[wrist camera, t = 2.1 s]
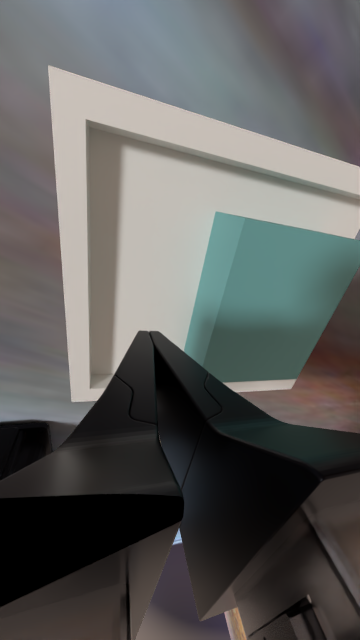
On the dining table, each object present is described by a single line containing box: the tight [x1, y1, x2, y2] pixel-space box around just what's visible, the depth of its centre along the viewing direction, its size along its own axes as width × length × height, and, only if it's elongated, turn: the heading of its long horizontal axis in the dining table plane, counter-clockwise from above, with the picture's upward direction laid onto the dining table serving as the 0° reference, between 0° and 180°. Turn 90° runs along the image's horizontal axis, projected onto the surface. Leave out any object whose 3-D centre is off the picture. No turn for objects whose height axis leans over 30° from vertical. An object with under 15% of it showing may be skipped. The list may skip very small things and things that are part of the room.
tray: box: [48, 65, 360, 402], centre depth 15 cm, size 17×19×2 cm
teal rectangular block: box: [184, 211, 360, 382], centre depth 15 cm, size 10×8×4 cm
